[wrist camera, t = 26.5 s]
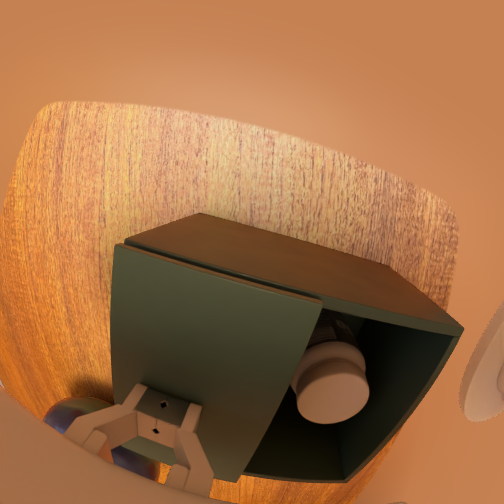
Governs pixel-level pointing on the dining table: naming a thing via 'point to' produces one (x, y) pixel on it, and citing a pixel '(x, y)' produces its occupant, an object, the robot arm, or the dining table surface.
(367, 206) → the dining table surface
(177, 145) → the dining table surface
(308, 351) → the pill bottle
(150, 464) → the vase
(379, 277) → the open box
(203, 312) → the dark green box lid
